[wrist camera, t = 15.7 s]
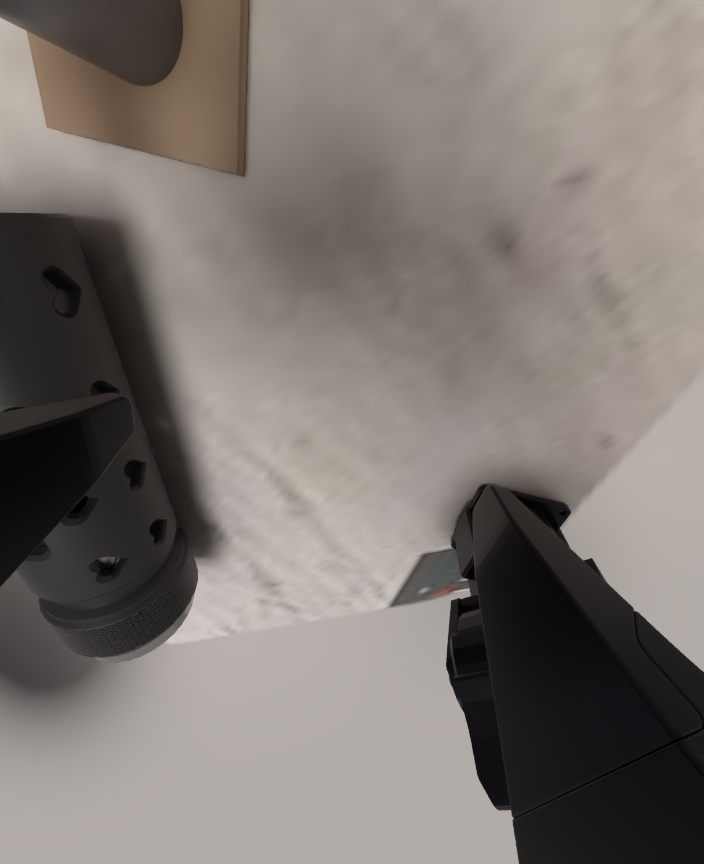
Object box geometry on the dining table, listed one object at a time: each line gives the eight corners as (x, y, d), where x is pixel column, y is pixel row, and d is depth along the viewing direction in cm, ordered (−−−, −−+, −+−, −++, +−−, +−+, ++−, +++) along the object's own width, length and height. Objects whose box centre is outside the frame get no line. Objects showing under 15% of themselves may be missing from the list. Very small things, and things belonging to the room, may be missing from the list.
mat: (252, -145, 12) (243, -167, 11) (243, 176, 17) (237, 174, 16) (-5, -210, 12) (-30, -236, 11) (61, 131, 16) (47, 127, 16)
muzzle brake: (134, 215, 18) (-114, 210, 9) (226, 560, 33) (163, 683, 24) (-25, 212, 19) (-387, 204, 10) (133, 549, 34) (40, 663, 25)
